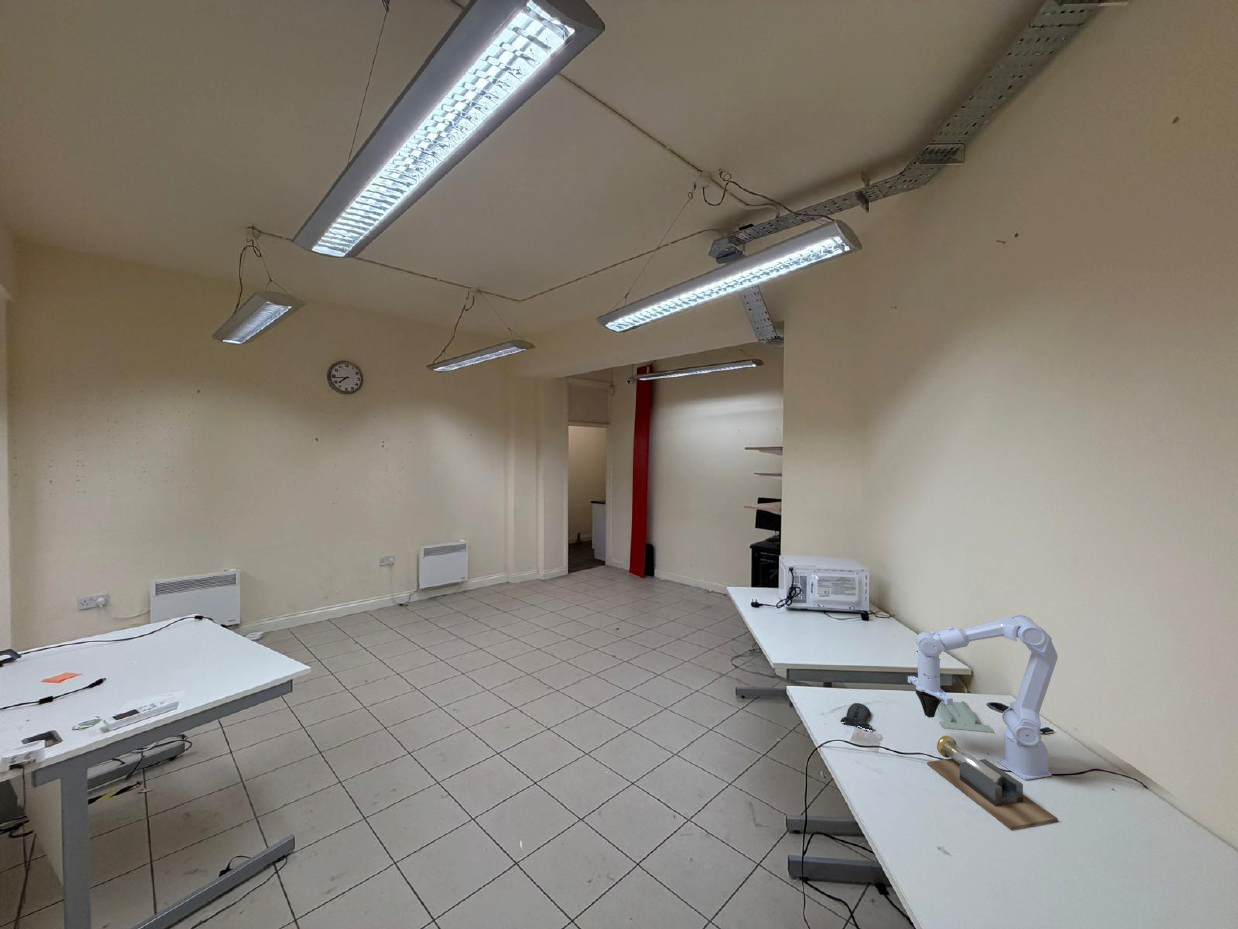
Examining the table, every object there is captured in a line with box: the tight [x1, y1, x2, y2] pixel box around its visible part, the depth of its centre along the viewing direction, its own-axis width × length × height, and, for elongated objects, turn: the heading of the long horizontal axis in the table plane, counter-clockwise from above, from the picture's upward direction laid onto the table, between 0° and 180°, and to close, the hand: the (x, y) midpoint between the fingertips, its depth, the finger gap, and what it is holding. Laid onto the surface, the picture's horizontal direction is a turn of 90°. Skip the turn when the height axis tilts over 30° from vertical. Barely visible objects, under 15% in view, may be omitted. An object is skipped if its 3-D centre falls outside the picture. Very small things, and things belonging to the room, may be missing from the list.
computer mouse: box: [840, 702, 874, 731], centre depth 156 cm, size 10×15×4 cm
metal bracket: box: [937, 700, 995, 734], centre depth 154 cm, size 14×6×15 cm
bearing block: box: [959, 758, 1024, 807], centre depth 120 cm, size 9×10×5 cm
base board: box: [926, 757, 1059, 831], centre depth 121 cm, size 14×24×1 cm, turn 10°
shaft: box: [936, 735, 1004, 787], centre depth 126 cm, size 6×16×6 cm, turn 10°
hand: (929, 716), depth 139 cm, fingers closed
